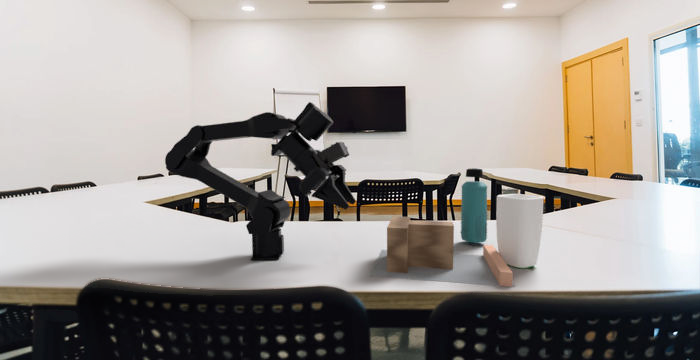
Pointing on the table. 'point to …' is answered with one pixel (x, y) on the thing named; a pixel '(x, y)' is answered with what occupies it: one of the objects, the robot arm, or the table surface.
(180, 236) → the table surface
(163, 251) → the table surface
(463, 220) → the teal bottle
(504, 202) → the cup
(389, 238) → the t block
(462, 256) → the runner mat
